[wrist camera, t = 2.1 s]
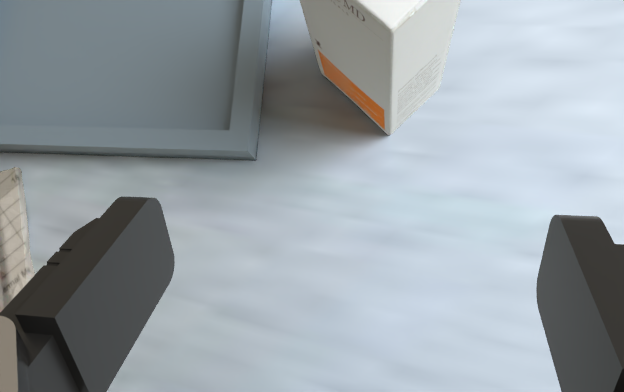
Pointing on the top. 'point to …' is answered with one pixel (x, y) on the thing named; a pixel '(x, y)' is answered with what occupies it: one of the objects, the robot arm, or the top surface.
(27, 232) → the packaged product
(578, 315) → the robot arm
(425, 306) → the top surface
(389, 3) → the skincare box
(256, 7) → the tray
